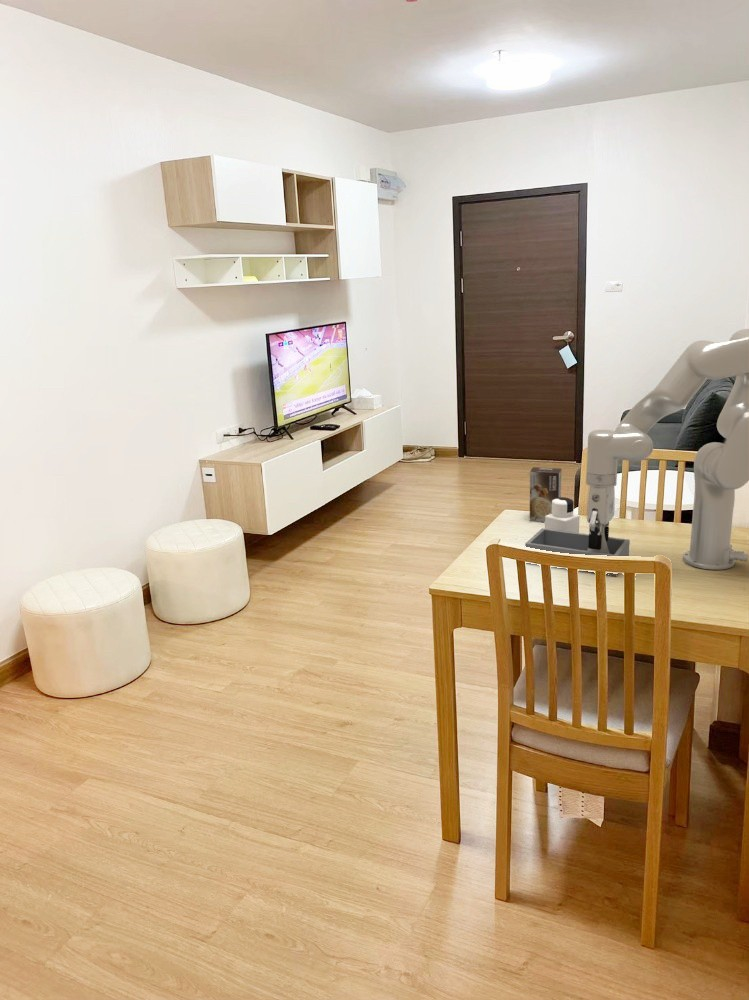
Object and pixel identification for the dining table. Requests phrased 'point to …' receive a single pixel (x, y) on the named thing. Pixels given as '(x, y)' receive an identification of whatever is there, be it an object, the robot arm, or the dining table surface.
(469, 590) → the dining table surface
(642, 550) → the dining table surface
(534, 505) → the coffee box
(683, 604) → the dining table surface
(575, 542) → the box
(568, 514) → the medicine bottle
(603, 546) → the flask
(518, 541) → the dining table surface
